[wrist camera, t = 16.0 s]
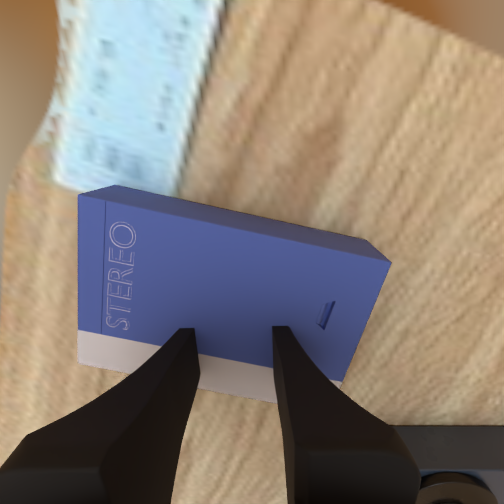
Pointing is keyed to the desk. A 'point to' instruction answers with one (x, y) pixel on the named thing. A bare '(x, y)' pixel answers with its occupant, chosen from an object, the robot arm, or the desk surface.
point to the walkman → (217, 288)
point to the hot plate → (459, 452)
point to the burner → (454, 489)
